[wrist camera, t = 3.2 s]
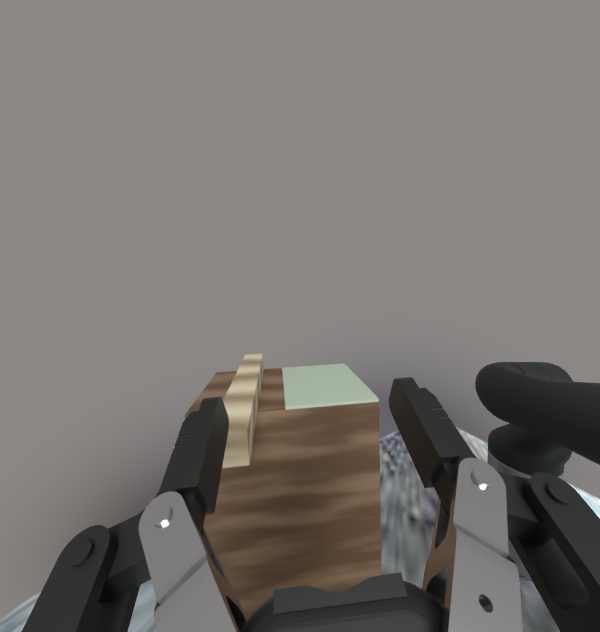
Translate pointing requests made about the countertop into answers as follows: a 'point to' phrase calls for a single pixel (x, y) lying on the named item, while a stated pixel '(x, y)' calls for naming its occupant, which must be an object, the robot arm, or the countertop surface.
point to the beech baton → (243, 410)
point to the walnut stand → (301, 486)
